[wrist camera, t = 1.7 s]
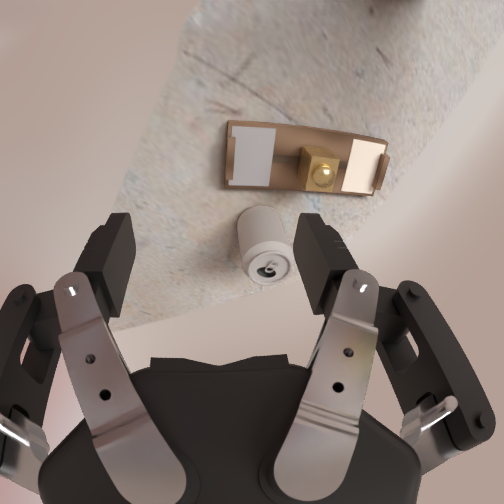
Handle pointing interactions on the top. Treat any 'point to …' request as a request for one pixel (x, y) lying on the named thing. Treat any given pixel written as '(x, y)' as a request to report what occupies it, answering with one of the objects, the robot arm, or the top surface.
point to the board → (289, 152)
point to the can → (264, 246)
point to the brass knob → (317, 169)
